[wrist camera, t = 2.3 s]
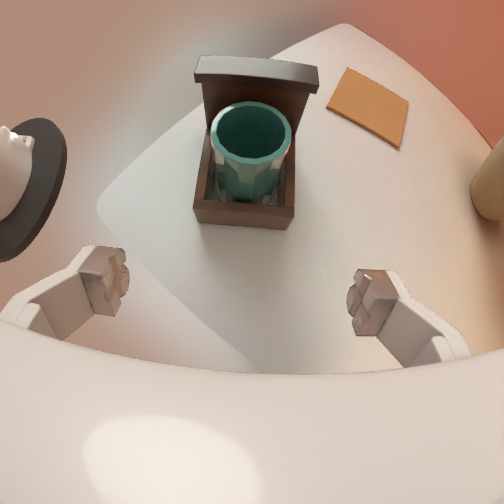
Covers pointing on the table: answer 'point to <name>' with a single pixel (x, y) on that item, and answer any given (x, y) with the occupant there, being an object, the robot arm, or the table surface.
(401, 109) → the mat
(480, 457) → the robot arm
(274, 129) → the cup
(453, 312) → the table surface
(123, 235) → the table surface
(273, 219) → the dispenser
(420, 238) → the table surface
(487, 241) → the table surface
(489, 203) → the plant pot
